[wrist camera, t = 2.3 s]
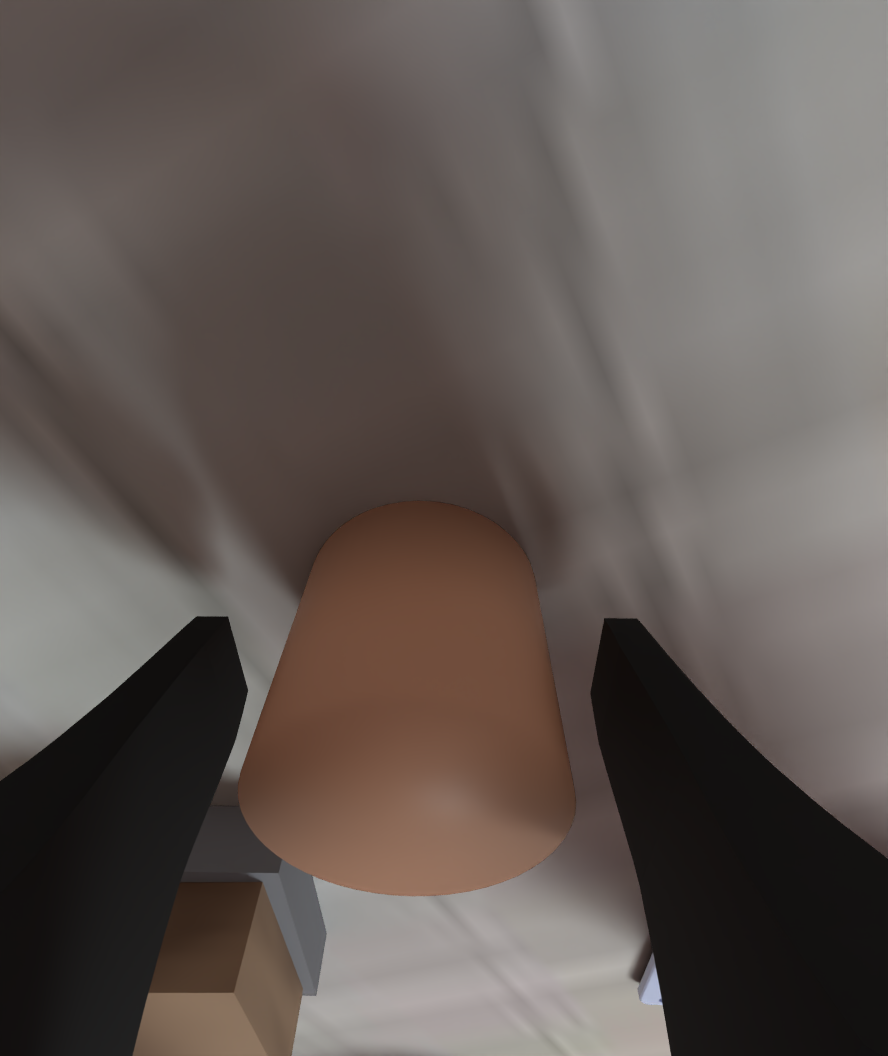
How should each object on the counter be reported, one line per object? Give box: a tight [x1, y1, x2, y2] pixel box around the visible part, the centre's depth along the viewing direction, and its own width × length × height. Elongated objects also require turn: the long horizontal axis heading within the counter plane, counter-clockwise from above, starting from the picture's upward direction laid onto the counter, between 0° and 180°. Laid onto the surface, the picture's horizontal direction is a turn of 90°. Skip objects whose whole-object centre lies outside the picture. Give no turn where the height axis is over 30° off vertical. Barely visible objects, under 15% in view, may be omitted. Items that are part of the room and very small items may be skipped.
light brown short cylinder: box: [238, 501, 576, 896], centre depth 11 cm, size 5×5×5 cm
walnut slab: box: [133, 882, 303, 1056], centre depth 17 cm, size 7×7×2 cm
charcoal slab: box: [180, 806, 327, 996], centre depth 19 cm, size 8×8×2 cm
